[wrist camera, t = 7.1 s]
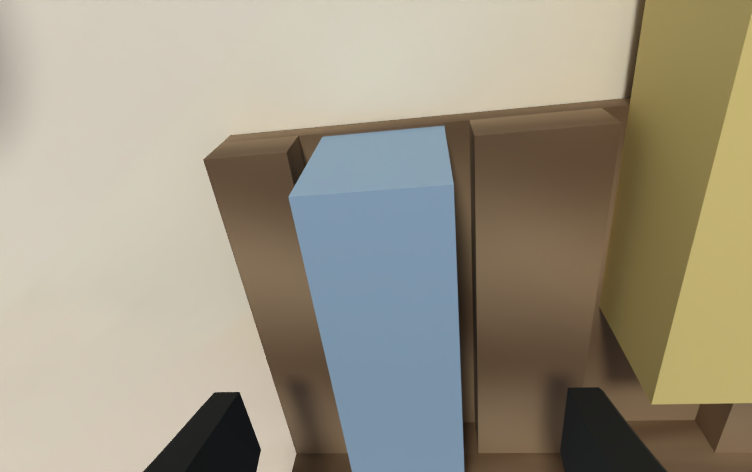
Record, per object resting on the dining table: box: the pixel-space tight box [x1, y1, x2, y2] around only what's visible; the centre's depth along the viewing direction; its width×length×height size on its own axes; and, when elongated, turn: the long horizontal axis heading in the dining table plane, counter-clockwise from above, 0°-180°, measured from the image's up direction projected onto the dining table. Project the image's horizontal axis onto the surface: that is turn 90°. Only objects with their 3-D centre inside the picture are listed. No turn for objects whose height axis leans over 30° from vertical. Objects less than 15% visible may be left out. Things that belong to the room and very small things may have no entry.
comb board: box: [204, 98, 752, 472], centre depth 13 cm, size 12×15×3 cm
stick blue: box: [288, 126, 464, 472], centre depth 12 cm, size 10×3×4 cm, turn 7°
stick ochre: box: [599, 0, 752, 405], centre depth 9 cm, size 10×3×4 cm, turn 7°
